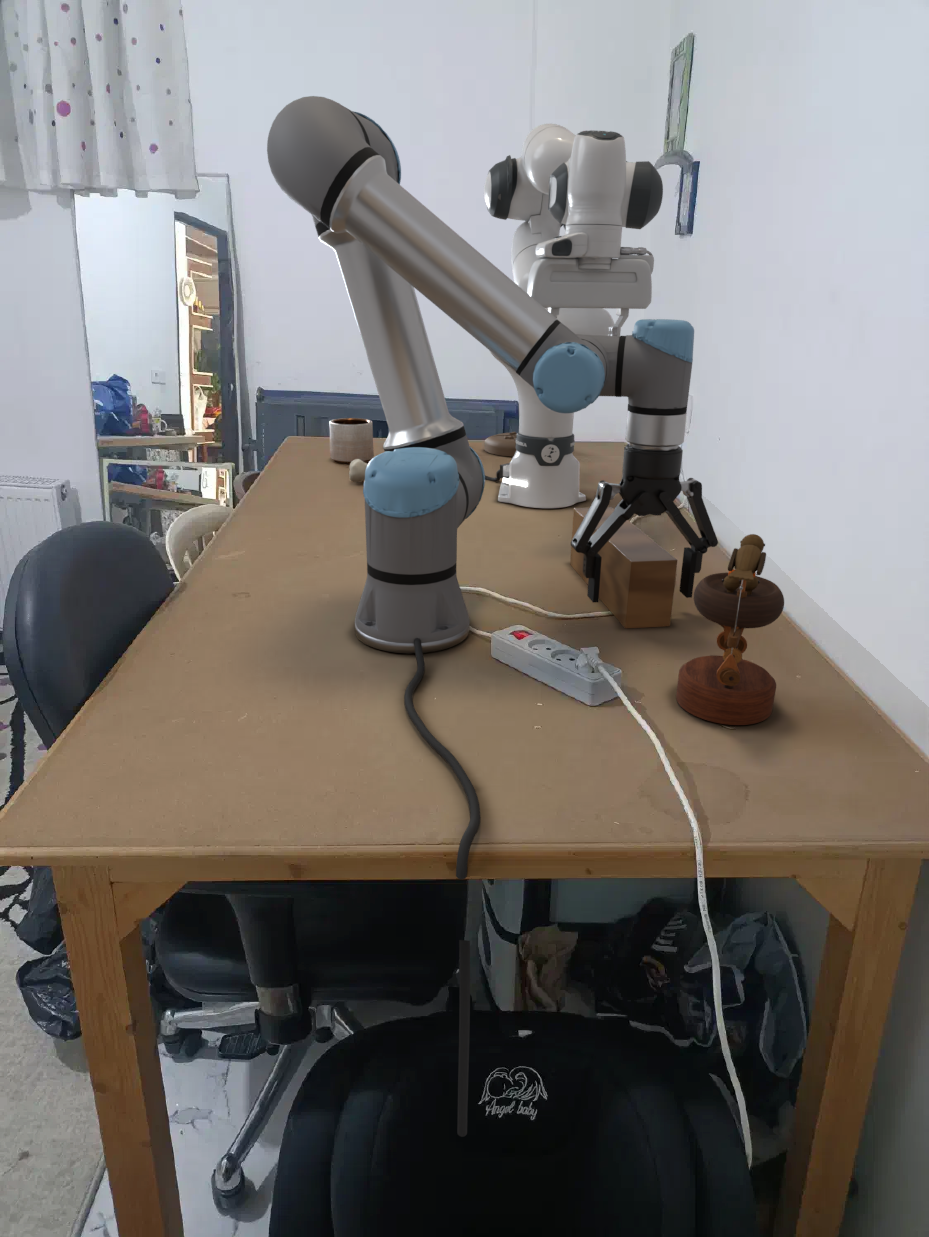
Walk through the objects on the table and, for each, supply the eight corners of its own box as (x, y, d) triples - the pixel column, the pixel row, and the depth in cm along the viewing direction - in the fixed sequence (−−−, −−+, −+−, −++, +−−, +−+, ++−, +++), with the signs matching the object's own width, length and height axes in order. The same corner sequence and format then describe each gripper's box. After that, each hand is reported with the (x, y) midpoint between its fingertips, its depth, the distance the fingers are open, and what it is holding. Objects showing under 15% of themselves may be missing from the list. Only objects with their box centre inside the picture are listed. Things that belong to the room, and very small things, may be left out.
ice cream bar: (489, 466, 209) (490, 449, 208) (482, 444, 235) (482, 429, 234) (574, 466, 210) (575, 449, 209) (557, 445, 236) (558, 430, 234)
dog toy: (435, 477, 197) (435, 455, 195) (438, 483, 192) (439, 461, 190) (348, 478, 194) (347, 457, 192) (349, 485, 189) (348, 462, 187)
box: (669, 626, 116) (677, 560, 113) (625, 628, 115) (631, 561, 112) (607, 562, 141) (611, 507, 138) (569, 564, 140) (573, 508, 137)
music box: (791, 736, 88) (807, 553, 81) (683, 736, 90) (689, 557, 82) (760, 672, 102) (771, 512, 95) (667, 673, 104) (671, 515, 96)
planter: (327, 456, 217) (325, 418, 214) (369, 454, 220) (368, 417, 217) (334, 465, 208) (332, 425, 204) (377, 463, 211) (376, 424, 207)
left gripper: (730, 437, 116) (712, 583, 124) (553, 441, 112) (546, 591, 120) (756, 448, 109) (735, 601, 117) (569, 452, 105) (560, 610, 113)
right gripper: (648, 248, 138) (640, 337, 144) (526, 245, 135) (522, 336, 140) (662, 247, 133) (653, 339, 138) (535, 244, 129) (531, 339, 135)
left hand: (639, 596), depth 118 cm, fingers open, 13 cm apart
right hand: (586, 338), depth 139 cm, fingers open, 8 cm apart
